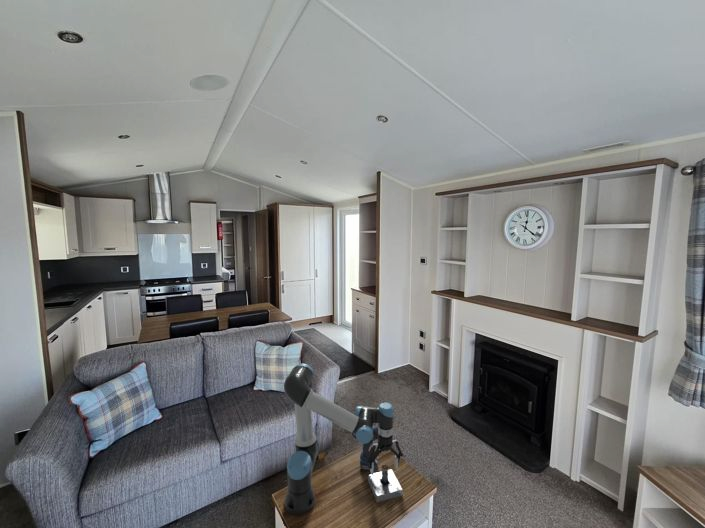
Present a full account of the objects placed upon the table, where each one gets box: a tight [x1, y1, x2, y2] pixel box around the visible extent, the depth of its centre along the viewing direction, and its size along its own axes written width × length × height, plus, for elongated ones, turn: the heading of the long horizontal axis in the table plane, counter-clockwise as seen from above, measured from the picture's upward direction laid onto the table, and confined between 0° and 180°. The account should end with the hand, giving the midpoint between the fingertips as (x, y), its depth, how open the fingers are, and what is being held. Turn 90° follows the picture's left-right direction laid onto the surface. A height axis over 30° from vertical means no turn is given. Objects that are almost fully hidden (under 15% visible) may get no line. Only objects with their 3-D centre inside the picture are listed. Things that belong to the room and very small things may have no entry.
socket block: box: [367, 469, 403, 503], centre depth 166 cm, size 14×14×4 cm
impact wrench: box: [351, 425, 379, 472], centre depth 179 cm, size 8×22×25 cm, turn 78°
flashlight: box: [381, 464, 389, 486], centre depth 165 cm, size 6×4×12 cm, turn 16°
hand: (383, 470), depth 165 cm, fingers open, 13 cm apart
